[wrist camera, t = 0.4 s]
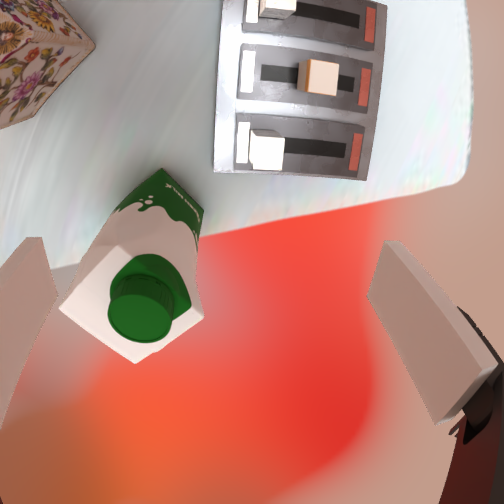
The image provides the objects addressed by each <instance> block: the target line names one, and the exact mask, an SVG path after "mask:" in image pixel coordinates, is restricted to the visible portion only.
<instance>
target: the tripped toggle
mask: <svg viewBox="0 0 504 504" xmlns="http://www.w3.org/2000/svg"><path fill="white" fill-rule="evenodd" d="M338 72H339V64H336V63H331V62H325V61H319V60H313V59H308V60H307V61H302V62H299V71H298V82H297V90H301V91H305V92H311V93H319V94H325V95H332V96H336V91H337V82H338Z"/></svg>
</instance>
